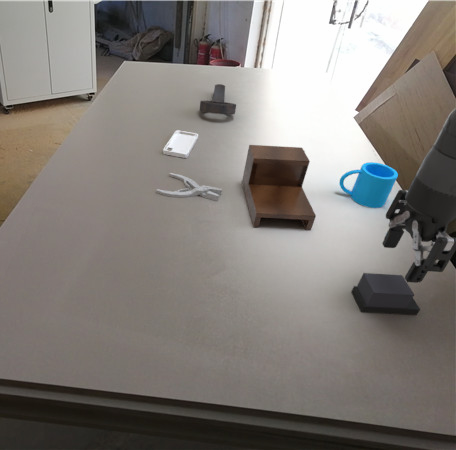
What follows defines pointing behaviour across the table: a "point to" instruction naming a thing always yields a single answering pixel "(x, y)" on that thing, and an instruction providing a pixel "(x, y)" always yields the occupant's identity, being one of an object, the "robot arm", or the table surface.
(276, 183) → the wooden chair model
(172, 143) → the phone case
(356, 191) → the mug
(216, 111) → the dark gray mallet
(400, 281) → the dark block
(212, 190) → the pliers
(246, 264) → the table surface
